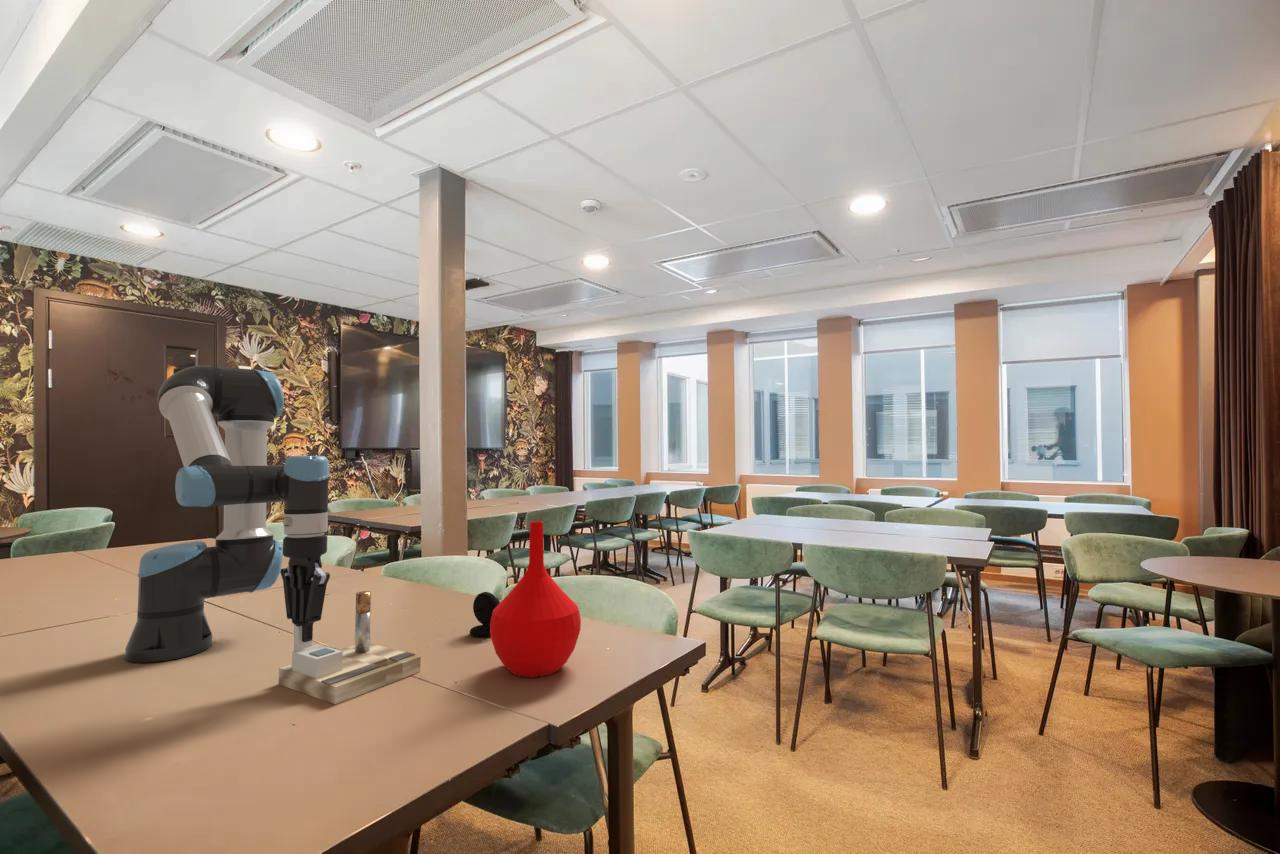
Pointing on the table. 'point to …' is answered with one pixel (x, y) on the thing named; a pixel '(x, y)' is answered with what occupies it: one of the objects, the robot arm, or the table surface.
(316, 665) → the block
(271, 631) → the table surface
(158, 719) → the table surface
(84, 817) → the table surface
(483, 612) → the webcam
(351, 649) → the panel
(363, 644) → the silver and copper cylinder
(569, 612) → the vase
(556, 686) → the table surface
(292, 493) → the robot arm
